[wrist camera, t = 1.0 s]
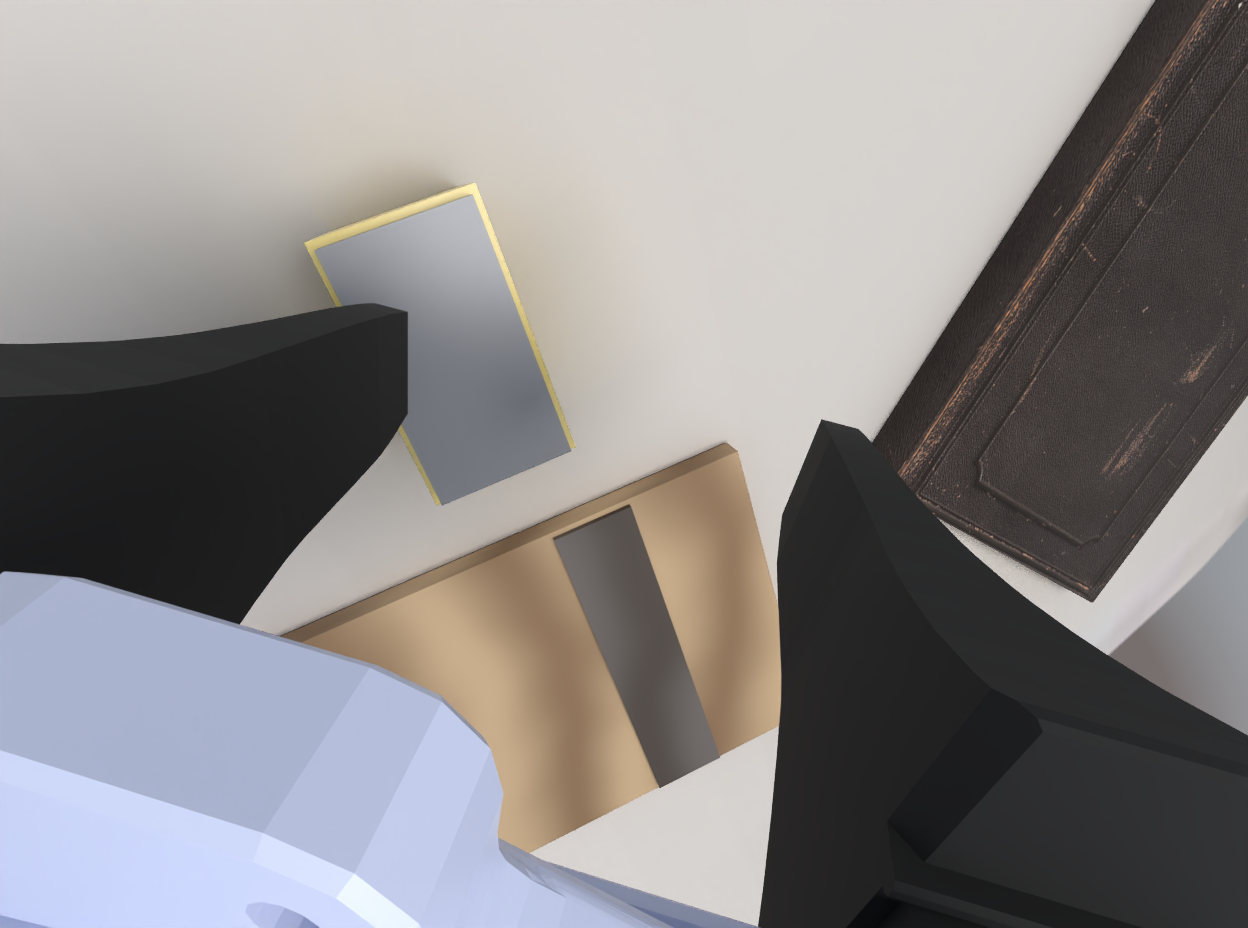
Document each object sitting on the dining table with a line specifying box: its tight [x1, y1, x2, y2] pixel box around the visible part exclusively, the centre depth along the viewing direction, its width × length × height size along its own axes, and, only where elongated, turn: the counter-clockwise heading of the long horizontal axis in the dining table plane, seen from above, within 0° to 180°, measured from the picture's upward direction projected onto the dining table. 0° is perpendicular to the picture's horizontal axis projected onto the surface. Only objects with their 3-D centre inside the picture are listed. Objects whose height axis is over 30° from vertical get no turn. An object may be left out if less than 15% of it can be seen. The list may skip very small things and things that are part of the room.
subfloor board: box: [280, 443, 781, 853], centre depth 27 cm, size 20×14×1 cm
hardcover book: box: [872, 0, 1248, 602], centre depth 29 cm, size 16×23×2 cm
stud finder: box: [304, 183, 576, 505], centre depth 19 cm, size 4×7×6 cm, turn 18°
